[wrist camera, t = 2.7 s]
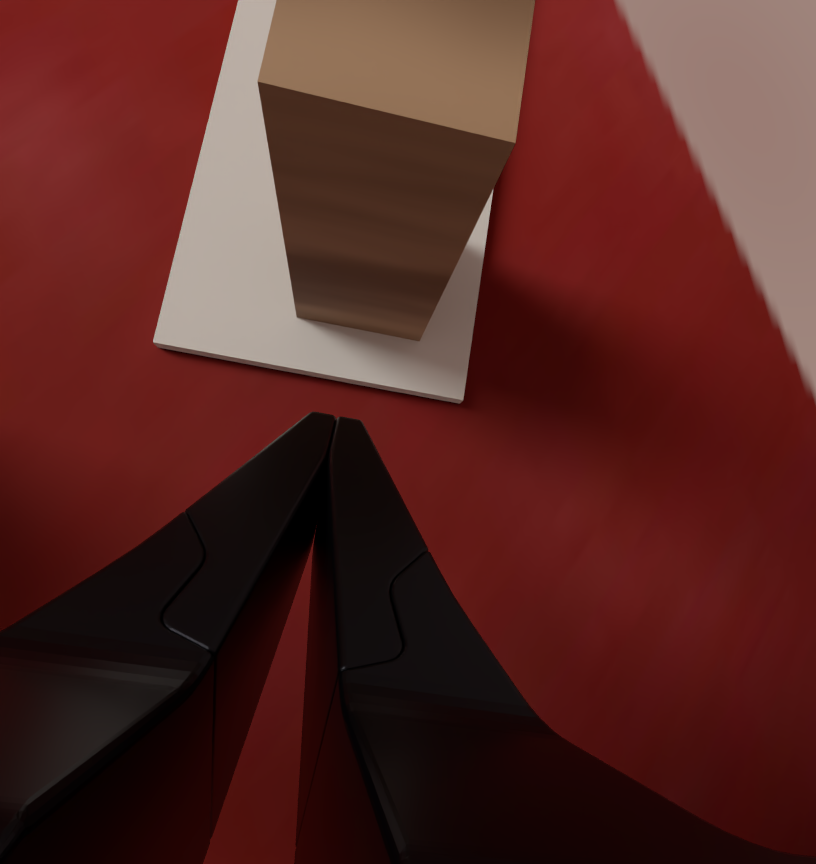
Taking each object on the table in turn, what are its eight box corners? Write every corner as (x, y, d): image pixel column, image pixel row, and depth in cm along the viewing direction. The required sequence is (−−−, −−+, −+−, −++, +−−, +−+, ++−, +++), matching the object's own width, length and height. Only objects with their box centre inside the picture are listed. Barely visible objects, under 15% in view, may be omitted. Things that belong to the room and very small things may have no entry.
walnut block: (419, 341, 21) (515, 142, 10) (296, 317, 20) (257, 81, 9) (437, 229, 21) (544, -65, 11) (319, 204, 21) (307, -133, 10)
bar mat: (459, 403, 21) (463, 400, 21) (158, 347, 20) (152, 341, 19) (522, -37, 25) (527, -50, 24) (270, -106, 24) (268, -122, 23)
